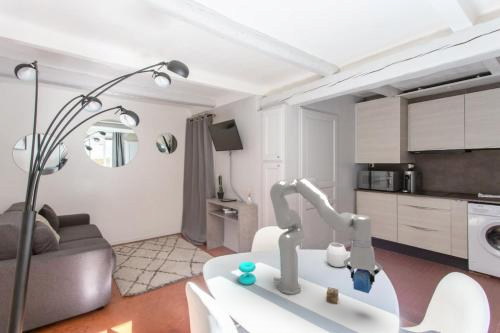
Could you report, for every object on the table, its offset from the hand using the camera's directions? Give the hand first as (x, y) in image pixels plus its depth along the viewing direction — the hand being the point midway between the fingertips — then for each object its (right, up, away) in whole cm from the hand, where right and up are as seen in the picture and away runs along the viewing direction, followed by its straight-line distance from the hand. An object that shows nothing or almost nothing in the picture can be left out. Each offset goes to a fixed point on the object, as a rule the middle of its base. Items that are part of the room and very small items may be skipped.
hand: (362, 281), depth 112 cm
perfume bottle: (0, -3, 0) cm, 3 cm away
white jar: (+7, -14, +53) cm, 55 cm away
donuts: (-53, -16, +33) cm, 64 cm away
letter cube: (-10, -15, +12) cm, 22 cm away
